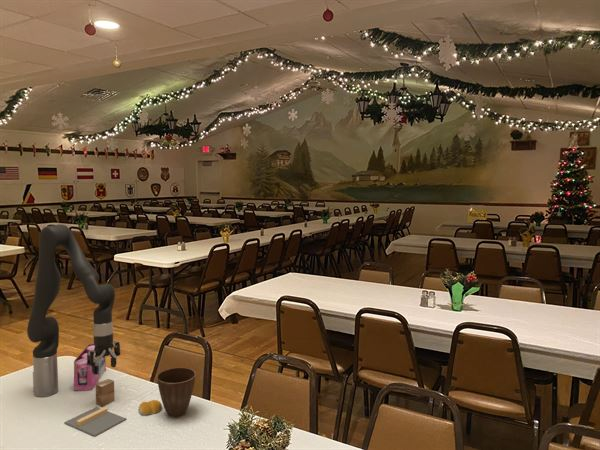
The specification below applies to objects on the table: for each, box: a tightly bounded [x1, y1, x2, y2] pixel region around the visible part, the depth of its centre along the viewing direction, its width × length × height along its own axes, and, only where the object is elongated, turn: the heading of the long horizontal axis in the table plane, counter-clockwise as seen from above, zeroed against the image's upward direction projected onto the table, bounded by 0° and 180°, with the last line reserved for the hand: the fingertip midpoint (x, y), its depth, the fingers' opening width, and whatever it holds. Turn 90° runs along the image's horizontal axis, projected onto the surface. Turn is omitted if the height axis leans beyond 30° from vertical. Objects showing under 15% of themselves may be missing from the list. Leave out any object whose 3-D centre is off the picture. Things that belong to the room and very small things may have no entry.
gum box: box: [73, 343, 107, 392], centre depth 212 cm, size 24×8×14 cm, turn 8°
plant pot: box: [156, 367, 196, 418], centre depth 183 cm, size 15×15×16 cm
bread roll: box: [137, 399, 163, 416], centre depth 186 cm, size 8×9×4 cm
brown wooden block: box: [94, 378, 115, 408], centre depth 191 cm, size 4×6×9 cm, turn 151°
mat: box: [63, 406, 127, 438], centre depth 176 cm, size 18×14×2 cm
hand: (104, 370), depth 190 cm, fingers open, 8 cm apart
